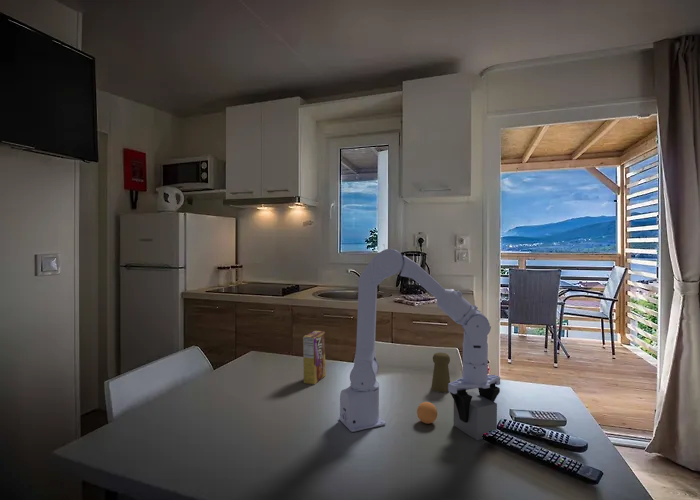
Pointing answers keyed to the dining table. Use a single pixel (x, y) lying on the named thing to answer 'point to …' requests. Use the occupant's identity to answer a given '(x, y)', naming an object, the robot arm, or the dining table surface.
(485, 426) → the dark gray square block
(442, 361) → the cork
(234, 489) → the dining table surface
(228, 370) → the dining table surface
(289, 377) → the dining table surface
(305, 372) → the candy box
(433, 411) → the ball
